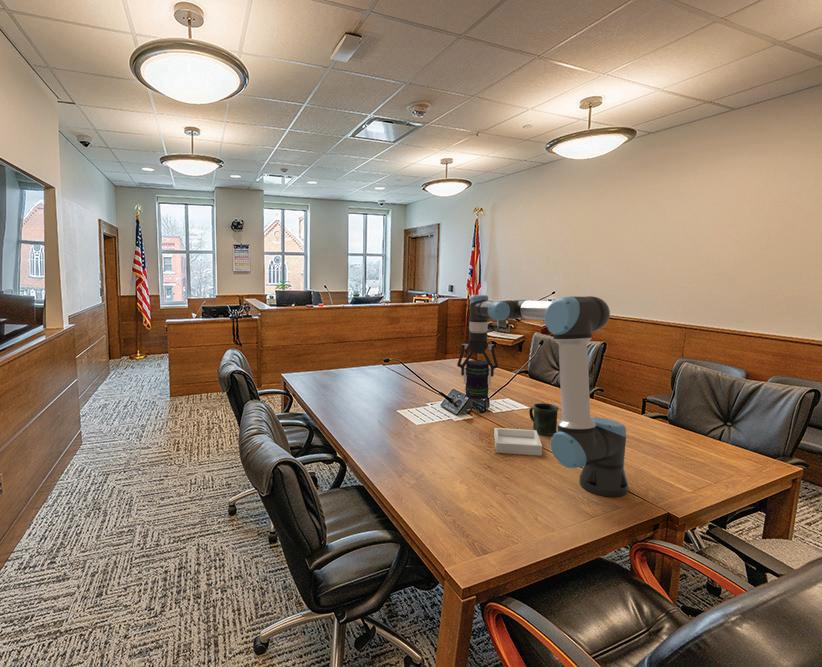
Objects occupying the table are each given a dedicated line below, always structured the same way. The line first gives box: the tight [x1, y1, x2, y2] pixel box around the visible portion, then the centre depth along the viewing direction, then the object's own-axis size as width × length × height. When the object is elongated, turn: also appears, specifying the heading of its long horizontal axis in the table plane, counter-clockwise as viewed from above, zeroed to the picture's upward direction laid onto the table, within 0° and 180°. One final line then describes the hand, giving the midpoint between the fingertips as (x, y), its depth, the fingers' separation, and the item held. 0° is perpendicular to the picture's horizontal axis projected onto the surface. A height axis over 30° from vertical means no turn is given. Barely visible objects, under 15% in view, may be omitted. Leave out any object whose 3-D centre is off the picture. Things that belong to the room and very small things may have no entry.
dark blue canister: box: [464, 359, 490, 401], centre depth 186 cm, size 10×10×15 cm
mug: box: [528, 402, 559, 436], centre depth 200 cm, size 11×15×12 cm
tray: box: [493, 427, 543, 456], centre depth 183 cm, size 18×18×4 cm
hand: (477, 383), depth 186 cm, fingers closed on dark blue canister, 10 cm apart
